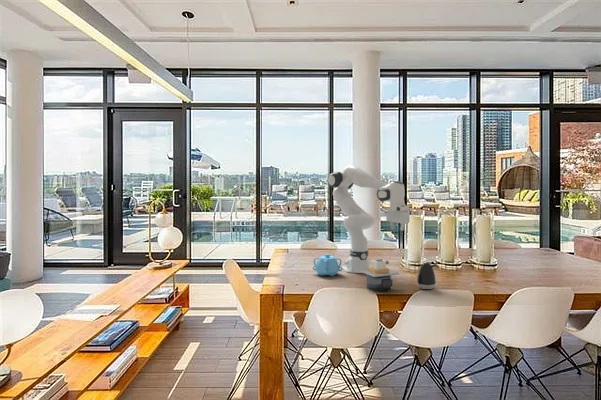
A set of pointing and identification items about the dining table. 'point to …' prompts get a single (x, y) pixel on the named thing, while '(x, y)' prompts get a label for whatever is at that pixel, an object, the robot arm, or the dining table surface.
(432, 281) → the pump dispenser
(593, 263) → the dining table surface
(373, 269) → the clip collar
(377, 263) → the pump housing
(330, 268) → the decorative pot
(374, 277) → the motor
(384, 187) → the robot arm
